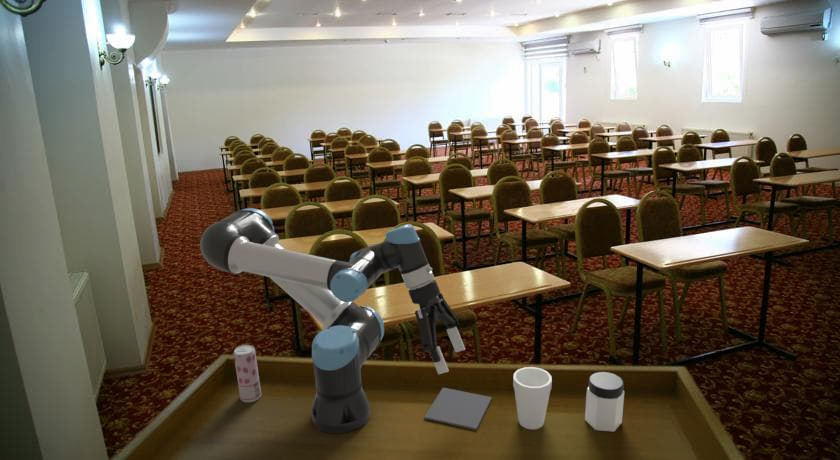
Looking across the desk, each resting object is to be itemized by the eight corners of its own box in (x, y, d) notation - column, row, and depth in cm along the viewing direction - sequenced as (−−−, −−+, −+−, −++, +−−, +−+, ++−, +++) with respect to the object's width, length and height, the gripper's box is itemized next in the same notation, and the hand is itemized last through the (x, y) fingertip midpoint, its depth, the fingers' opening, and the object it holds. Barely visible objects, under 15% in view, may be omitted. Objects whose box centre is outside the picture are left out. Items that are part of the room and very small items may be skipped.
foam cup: (549, 435, 149) (551, 389, 145) (511, 431, 151) (512, 386, 147) (549, 411, 158) (551, 368, 154) (513, 408, 160) (514, 365, 156)
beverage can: (240, 393, 171) (233, 346, 166) (261, 389, 172) (255, 342, 167) (240, 404, 166) (232, 356, 161) (261, 401, 167) (254, 353, 162)
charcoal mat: (424, 418, 157) (424, 416, 157) (442, 389, 169) (442, 387, 169) (476, 430, 152) (476, 428, 152) (491, 399, 164) (491, 397, 164)
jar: (628, 428, 151) (632, 386, 147) (600, 436, 149) (603, 394, 145) (605, 407, 159) (609, 367, 155) (579, 415, 157) (581, 374, 153)
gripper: (415, 295, 141) (449, 379, 142) (450, 266, 163) (479, 339, 165) (388, 304, 144) (422, 386, 145) (425, 274, 166) (454, 345, 168)
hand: (452, 361), depth 155 cm, fingers open, 13 cm apart
